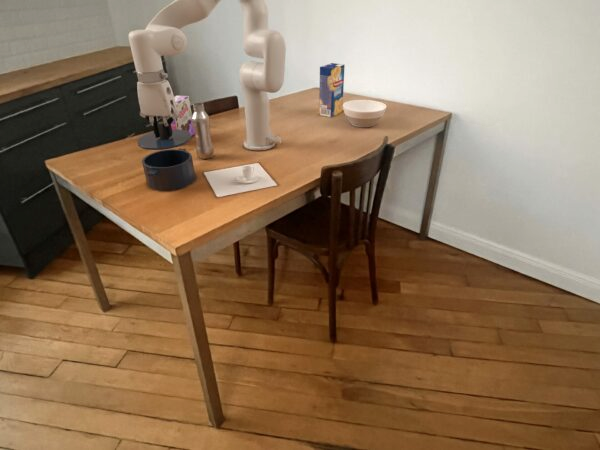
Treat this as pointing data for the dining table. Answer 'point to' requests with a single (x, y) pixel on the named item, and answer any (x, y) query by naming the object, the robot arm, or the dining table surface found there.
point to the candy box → (183, 115)
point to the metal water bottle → (202, 131)
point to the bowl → (364, 112)
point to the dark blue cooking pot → (169, 169)
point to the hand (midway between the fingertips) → (164, 136)
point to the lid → (163, 139)
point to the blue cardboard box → (331, 89)
